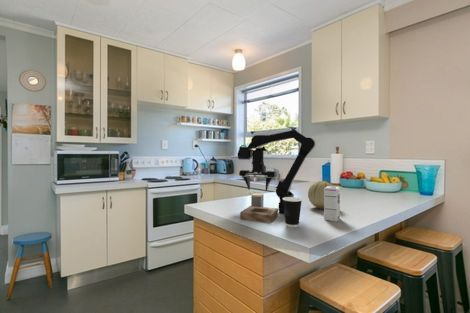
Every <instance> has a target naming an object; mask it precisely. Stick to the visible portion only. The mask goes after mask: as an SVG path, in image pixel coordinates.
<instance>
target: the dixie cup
mask: <svg viewBox="0 0 470 313" xmlns="http://www.w3.org/2000/svg"><path fill="white" fill-rule="evenodd" d="M302 201H303V198H300V197H296V196H294V197H285V198H283V203H284V213H283V214H284V221H285V222H284V223H285V225H286V227H288V228H297V227H299V224H300V217H301V208H302Z"/></svg>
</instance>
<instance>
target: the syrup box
mask: <svg viewBox="0 0 470 313" xmlns="http://www.w3.org/2000/svg"><path fill="white" fill-rule="evenodd" d="M340 190H341V187H339V186H334V185H333V186H327V187H326V188H324V209H323V215H324V216H323V219H324V220H326V221H332V222H338V221H339V220H340V218H341V216H340V215H341V213H340V212H341V198H340V197H341V194H340V192H341V191H340Z"/></svg>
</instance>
